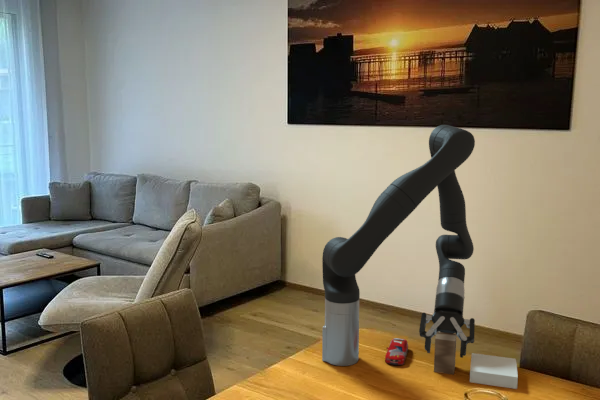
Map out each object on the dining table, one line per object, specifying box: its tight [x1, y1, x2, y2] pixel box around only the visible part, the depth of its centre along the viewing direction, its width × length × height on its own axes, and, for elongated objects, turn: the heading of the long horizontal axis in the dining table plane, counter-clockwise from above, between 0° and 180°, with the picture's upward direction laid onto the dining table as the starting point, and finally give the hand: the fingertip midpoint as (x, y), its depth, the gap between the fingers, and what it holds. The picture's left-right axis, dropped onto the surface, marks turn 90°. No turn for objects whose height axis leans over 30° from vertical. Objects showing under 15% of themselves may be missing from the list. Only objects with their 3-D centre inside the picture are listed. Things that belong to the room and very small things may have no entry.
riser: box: [469, 352, 519, 390], centre depth 141 cm, size 11×11×3 cm
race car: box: [384, 338, 409, 366], centre depth 153 cm, size 13×5×4 cm, turn 161°
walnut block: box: [433, 331, 457, 375], centre depth 144 cm, size 5×5×9 cm
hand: (444, 354), depth 143 cm, fingers open, 8 cm apart
